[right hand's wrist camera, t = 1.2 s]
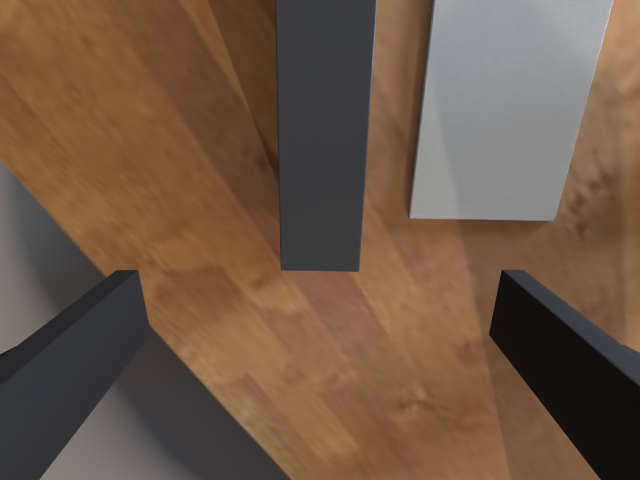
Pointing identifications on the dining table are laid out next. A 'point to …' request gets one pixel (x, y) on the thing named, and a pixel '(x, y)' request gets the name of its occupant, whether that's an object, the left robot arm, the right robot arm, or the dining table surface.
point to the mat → (503, 106)
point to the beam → (323, 129)
